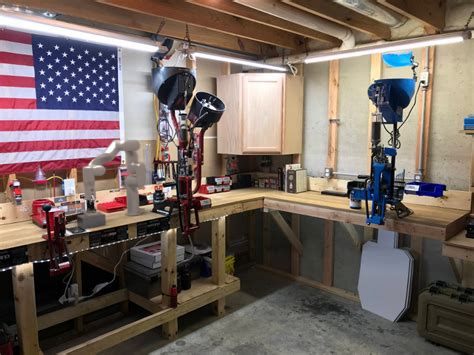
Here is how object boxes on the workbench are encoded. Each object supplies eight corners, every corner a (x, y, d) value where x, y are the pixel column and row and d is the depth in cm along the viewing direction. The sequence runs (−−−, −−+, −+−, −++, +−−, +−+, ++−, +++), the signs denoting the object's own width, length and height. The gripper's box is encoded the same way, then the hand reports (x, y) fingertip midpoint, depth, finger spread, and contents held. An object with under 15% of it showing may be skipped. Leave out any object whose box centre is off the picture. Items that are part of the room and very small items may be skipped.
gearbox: (99, 222, 283) (98, 209, 282) (106, 225, 274) (105, 211, 273) (77, 226, 272) (76, 212, 271) (83, 229, 264) (82, 215, 262)
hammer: (58, 230, 274) (98, 218, 294) (54, 216, 272) (95, 204, 292) (55, 229, 278) (95, 217, 298) (52, 215, 275) (92, 203, 295)
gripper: (99, 184, 266) (100, 210, 268) (89, 182, 278) (91, 206, 281) (88, 185, 261) (90, 211, 263) (79, 183, 273) (80, 207, 276)
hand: (90, 208), depth 272 cm, fingers open, 5 cm apart
